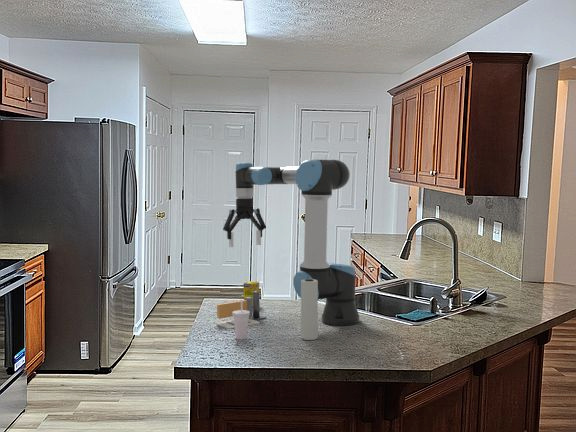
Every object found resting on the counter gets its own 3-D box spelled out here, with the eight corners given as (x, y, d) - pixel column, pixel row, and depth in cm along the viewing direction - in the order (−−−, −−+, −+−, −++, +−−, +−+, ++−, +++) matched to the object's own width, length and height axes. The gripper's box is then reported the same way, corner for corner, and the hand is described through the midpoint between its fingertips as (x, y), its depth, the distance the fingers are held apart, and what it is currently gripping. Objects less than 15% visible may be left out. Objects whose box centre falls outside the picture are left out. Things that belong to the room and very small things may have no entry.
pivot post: (266, 318, 270) (266, 292, 269) (254, 320, 266) (254, 293, 265) (258, 315, 275) (257, 289, 274) (246, 317, 271) (245, 291, 270)
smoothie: (252, 336, 241) (252, 299, 240) (246, 341, 235) (245, 302, 234) (236, 335, 243) (236, 297, 242) (229, 339, 237) (229, 301, 236)
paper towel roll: (312, 341, 234) (312, 282, 233) (297, 339, 237) (297, 280, 236) (322, 337, 240) (322, 279, 239) (307, 334, 244) (307, 277, 242)
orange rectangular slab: (249, 316, 270) (249, 296, 269) (252, 317, 268) (252, 297, 267) (216, 321, 261) (216, 301, 260) (219, 322, 259) (219, 302, 258)
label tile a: (259, 323, 261) (259, 321, 261) (247, 325, 258) (247, 323, 258) (247, 319, 268) (247, 317, 268) (234, 321, 265) (234, 319, 265)
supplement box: (256, 308, 290) (256, 283, 289) (243, 307, 291) (243, 283, 290) (259, 305, 295) (259, 281, 295) (246, 305, 297) (246, 281, 296)
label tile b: (241, 326, 256) (241, 324, 256) (228, 329, 253) (228, 327, 253) (229, 322, 263) (229, 320, 263) (216, 324, 260) (216, 322, 260)
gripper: (265, 196, 300) (265, 243, 301) (215, 198, 287) (215, 246, 288) (273, 197, 293) (273, 244, 295) (222, 198, 280) (223, 248, 282)
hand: (245, 245), depth 292 cm, fingers open, 13 cm apart
